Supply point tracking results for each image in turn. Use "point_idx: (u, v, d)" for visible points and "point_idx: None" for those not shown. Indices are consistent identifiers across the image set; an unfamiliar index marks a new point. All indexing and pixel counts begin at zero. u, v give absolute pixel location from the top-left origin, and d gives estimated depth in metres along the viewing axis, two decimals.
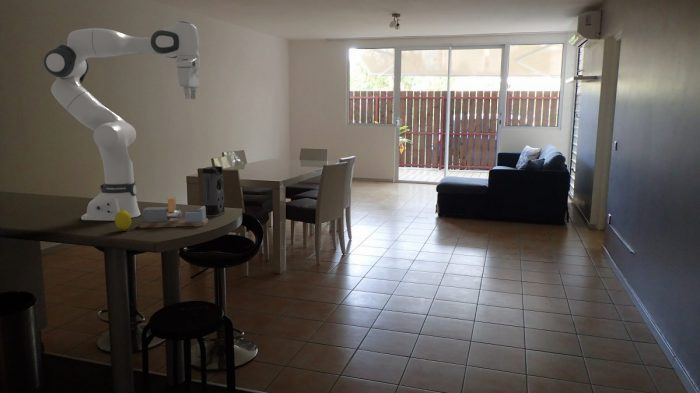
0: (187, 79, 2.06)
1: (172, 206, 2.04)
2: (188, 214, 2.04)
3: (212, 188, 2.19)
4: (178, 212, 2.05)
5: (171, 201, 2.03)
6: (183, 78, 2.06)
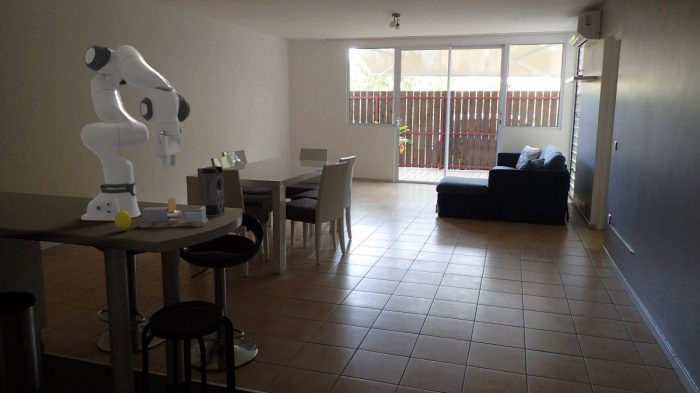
0: None
1: (172, 206, 2.04)
2: (188, 214, 2.04)
3: (212, 188, 2.19)
4: (178, 212, 2.05)
5: (171, 201, 2.03)
6: None
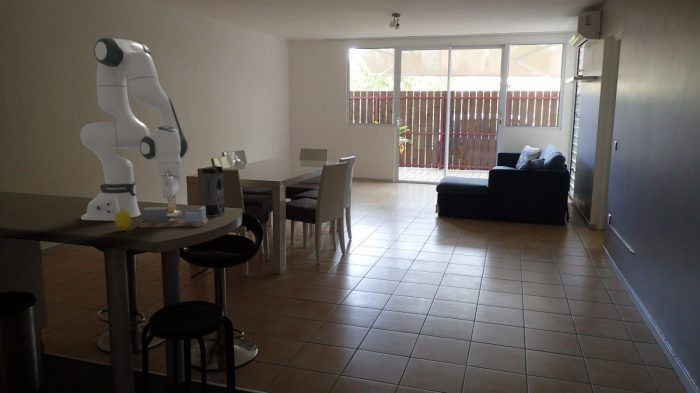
0: None
1: None
2: (188, 214, 2.04)
3: (212, 188, 2.19)
4: (178, 212, 2.05)
5: None
6: None
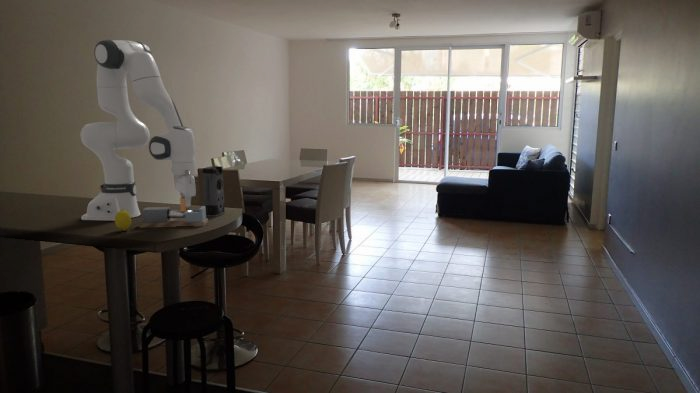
0: None
1: (184, 206, 2.04)
2: (188, 214, 2.04)
3: (212, 188, 2.19)
4: None
5: (183, 201, 2.04)
6: None
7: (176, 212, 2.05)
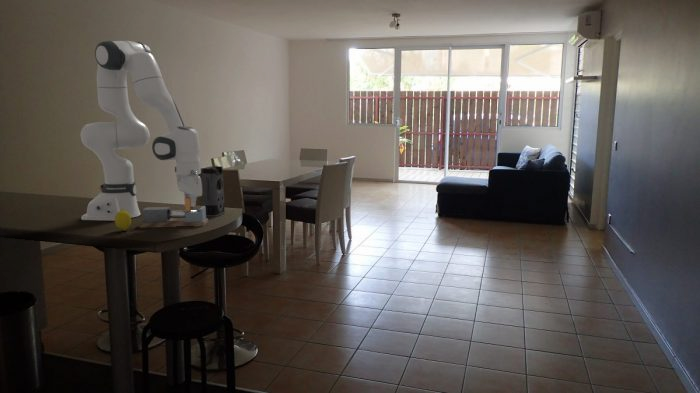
0: None
1: (189, 206, 2.04)
2: (188, 214, 2.04)
3: (212, 188, 2.19)
4: None
5: (188, 201, 2.04)
6: None
7: (180, 211, 2.05)
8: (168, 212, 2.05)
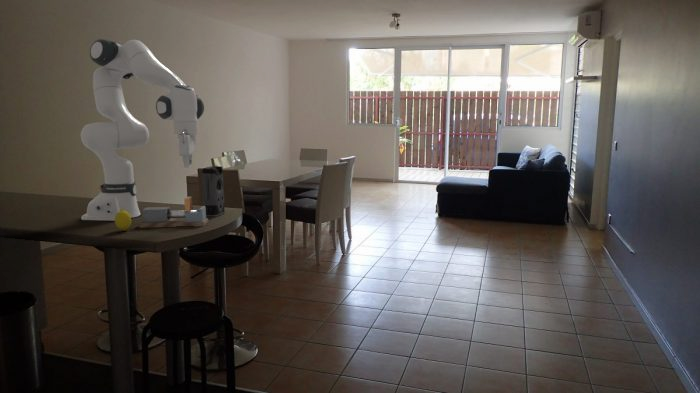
0: None
1: (189, 206, 2.04)
2: (188, 214, 2.04)
3: (212, 188, 2.19)
4: None
5: (188, 201, 2.04)
6: None
7: (180, 211, 2.05)
8: (168, 212, 2.05)
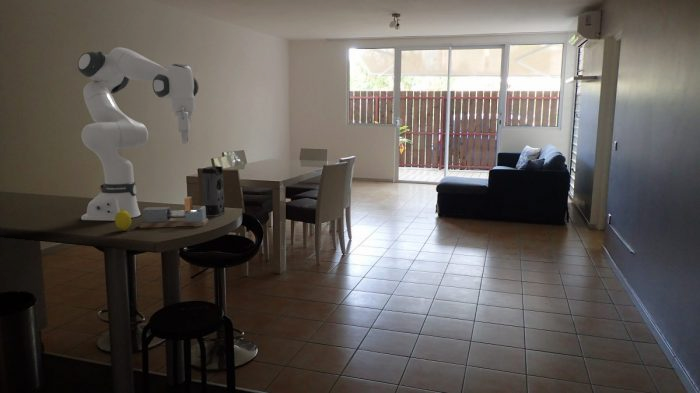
0: None
1: (189, 206, 2.04)
2: (188, 214, 2.04)
3: (212, 188, 2.19)
4: None
5: (188, 201, 2.04)
6: None
7: (180, 211, 2.05)
8: (168, 212, 2.05)
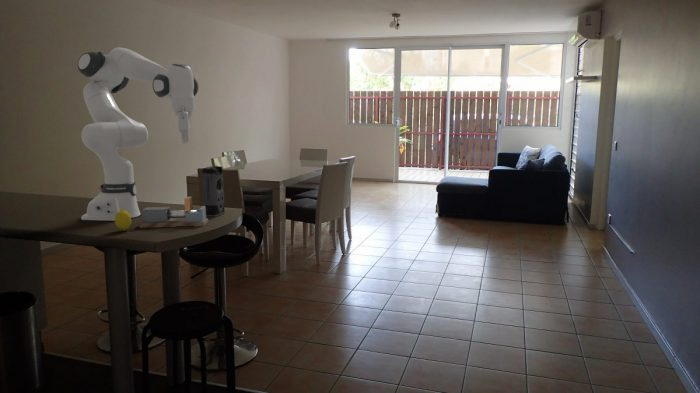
0: None
1: (189, 206, 2.04)
2: (188, 214, 2.04)
3: (212, 188, 2.19)
4: None
5: (188, 201, 2.04)
6: None
7: (180, 211, 2.05)
8: (168, 212, 2.05)
